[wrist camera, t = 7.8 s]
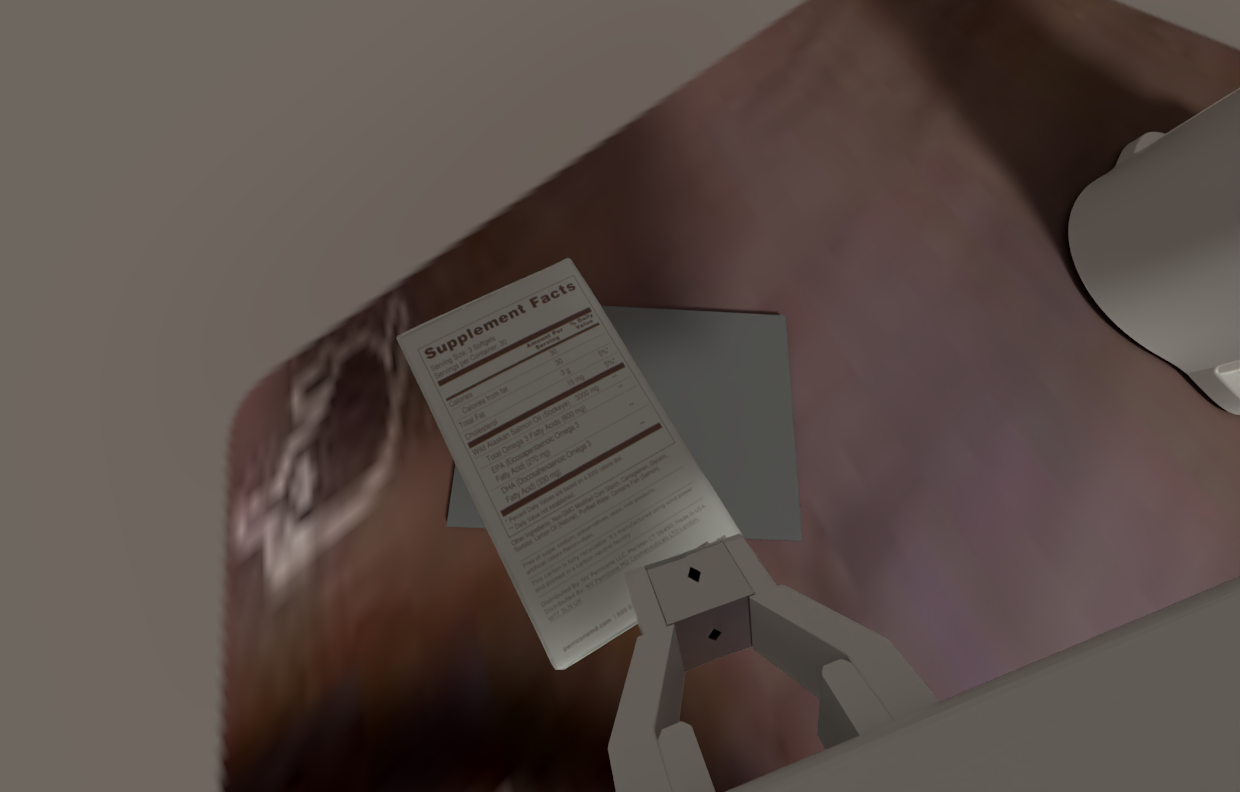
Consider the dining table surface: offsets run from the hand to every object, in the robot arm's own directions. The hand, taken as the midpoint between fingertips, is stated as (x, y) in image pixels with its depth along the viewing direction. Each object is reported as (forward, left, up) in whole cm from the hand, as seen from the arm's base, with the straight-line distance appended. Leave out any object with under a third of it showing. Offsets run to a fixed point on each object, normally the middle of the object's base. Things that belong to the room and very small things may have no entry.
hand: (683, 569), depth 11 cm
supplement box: (0, +2, -7) cm, 7 cm away
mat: (+1, -7, -11) cm, 13 cm away
